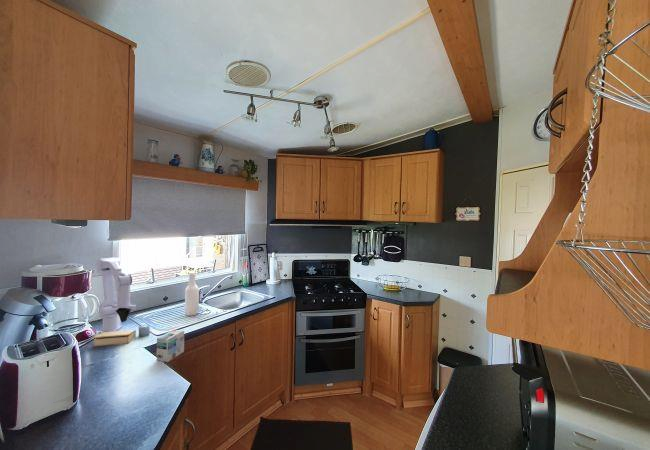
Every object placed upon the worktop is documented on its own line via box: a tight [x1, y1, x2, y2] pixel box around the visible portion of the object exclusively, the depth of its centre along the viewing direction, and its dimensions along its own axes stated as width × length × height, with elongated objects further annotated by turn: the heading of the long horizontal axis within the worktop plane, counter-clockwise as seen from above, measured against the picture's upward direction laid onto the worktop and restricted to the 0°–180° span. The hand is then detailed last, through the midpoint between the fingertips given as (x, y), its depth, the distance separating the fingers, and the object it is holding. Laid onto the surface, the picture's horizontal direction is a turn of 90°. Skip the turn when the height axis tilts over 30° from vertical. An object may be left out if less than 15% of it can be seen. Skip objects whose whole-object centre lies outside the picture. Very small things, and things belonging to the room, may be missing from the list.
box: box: [92, 330, 137, 347], centre depth 139 cm, size 8×16×4 cm, turn 103°
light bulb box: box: [156, 329, 185, 363], centre depth 124 cm, size 11×7×11 cm, turn 168°
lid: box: [93, 329, 137, 339], centre depth 139 cm, size 8×16×1 cm, turn 103°
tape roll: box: [138, 324, 151, 338], centre depth 147 cm, size 5×5×5 cm
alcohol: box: [184, 271, 200, 317], centre depth 181 cm, size 9×9×30 cm
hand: (123, 321), depth 141 cm, fingers closed
